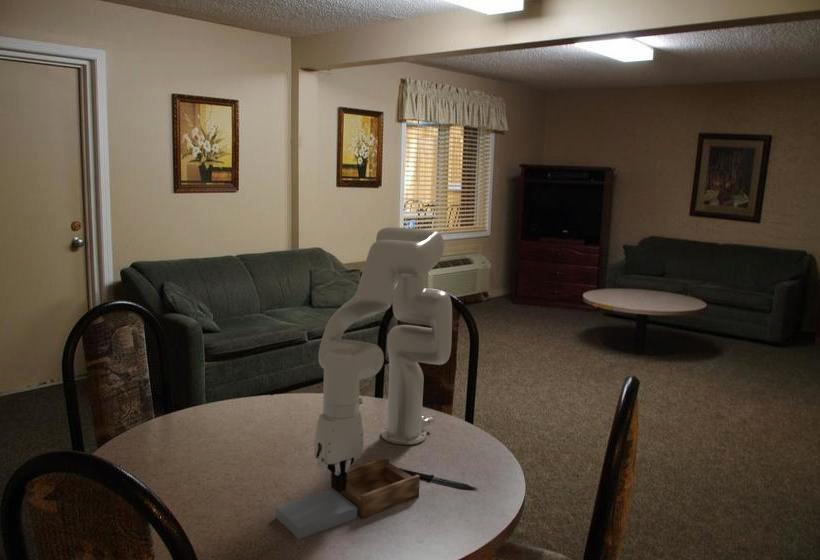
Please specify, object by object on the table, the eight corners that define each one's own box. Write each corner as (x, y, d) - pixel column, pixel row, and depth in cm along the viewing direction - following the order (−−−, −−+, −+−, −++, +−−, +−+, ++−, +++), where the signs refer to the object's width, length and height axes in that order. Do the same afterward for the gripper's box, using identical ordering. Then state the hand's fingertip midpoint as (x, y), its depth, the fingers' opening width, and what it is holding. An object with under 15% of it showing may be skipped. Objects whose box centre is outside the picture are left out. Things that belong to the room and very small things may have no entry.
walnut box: (386, 476, 156) (386, 456, 156) (418, 497, 148) (419, 475, 147) (330, 496, 146) (331, 474, 145) (362, 519, 137) (362, 496, 136)
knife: (394, 471, 158) (399, 465, 161) (394, 476, 158) (399, 470, 161) (476, 490, 150) (480, 483, 153) (476, 495, 150) (480, 489, 153)
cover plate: (332, 501, 145) (332, 488, 145) (356, 520, 138) (357, 507, 137) (275, 519, 137) (275, 506, 136) (298, 541, 129) (298, 527, 129)
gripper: (359, 395, 144) (356, 472, 147) (300, 409, 134) (299, 492, 137) (379, 406, 138) (376, 485, 141) (320, 421, 129) (318, 506, 132)
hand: (338, 488), depth 139 cm, fingers closed
